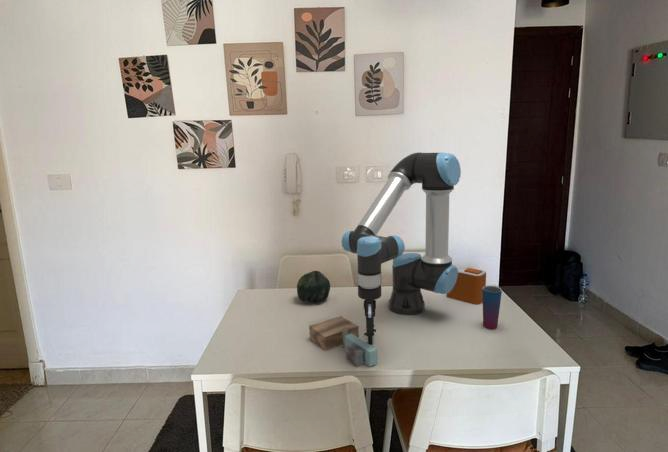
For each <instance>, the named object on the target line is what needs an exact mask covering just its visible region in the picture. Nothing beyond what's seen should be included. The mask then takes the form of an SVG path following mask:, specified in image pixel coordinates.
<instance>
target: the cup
mask: <svg viewBox="0 0 668 452" xmlns="http://www.w3.org/2000/svg"><path fill="white" fill-rule="evenodd" d="M502 292H503V288H501V287H500V286H496V285H486V286H484V287H483V288H482V294H483V302H482V324H483V328H485V329H487V330H496V329H498V325H499V315H500V307H501V301H502V294H503V293H502Z"/></svg>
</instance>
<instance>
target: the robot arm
mask: <svg viewBox="0 0 668 452" xmlns="http://www.w3.org/2000/svg"><path fill="white" fill-rule="evenodd" d="M461 174H462V170H461V164H460V162H459V159H458V158H457V156H456V155H455V154H452V153H449V152H448V153H447V152H422V151H421V152H413V153H411V154H408V155H407V156H405V157H404V158H402V159H401V160H400V161H398V162H397V163H396V164H395V165H394V166H393V168H392V169H391V170H390V171H389V173H388V175H387V181H386V182H385V184H384V185H383V187H382V188H381V190H380V191H379V193H378V194H377V196H376V198H375V199H374V200H373V202H372V203H371V205H370V206H369V208H368V210H367V211H366V212H365V214H364V215H363V217H362V219H361V220H360V221H359V223H358V225H357V226H356V228H355V229H354V230H348V231H345V233H344V234H343V235H342V237H341V247H342V249H343V250H344V251H346V252H349V253H351V254H355V255H356V257H357V259H356V260H357V274H356V275H355V278H357V284H358V286H357V294H358V297H359V299H362V300H363V310H364V317H365V328H366V329H365V330H366V331H365V332H364V333H363V335H364V336H365V342H366V343H368V344H370V345H371V346H373V347H374V348H376V346H375V333H376V332H377V329H376V328H375V323H374V322H375V319H374V317H376V309H377V300H378V299H380V298H381V297H382V264H385V263H387V262H389V261H392V265H391V268H392V290H391V294H390V298H389V300H388V309H389V310H390V312H391V311H392V312H393V313H396V314H398V315H406V316H407V315H417V314H421V313H422V312H424V311H425V307H426V303H425V300H424V296H423V292H422V290H424V291H428V292H431V293H434V294H440V295H441V294H442V295H447V293H449V292H450V291H451V290H452V289H453V287H454V285H455V283H456V281H457V277H458V271H459V269H458V267H457V266H456V265H453V259H452V257H451V256H450V255H449V233H450V232H449V230H450V229H449V227H450V225H449V224H450V220H449V219H450V194H451V193H452V192H453V190H455V189H454V188H455V186H456V185H458V184H459V182H460V178H461ZM415 184H421V190H422V191H423V192H424V193H425V246H424V247H425V252H424V253H425V254H423V256H422V255H421V254H420V253H419V252H406V253H404V252H405V246H406V245H405V242H404V240H403V239H402V238H401V237H400V236H398V235H396V234H395V235H388V236H380V235H377V234H378V233H379V232H380V230H381V228H382V227H383V225H384V224H385V222H386V221H387V219H388V217H389V216H390V214H391V213H392V211H393V210H394V209H395V207H396V205H397V204H398V202H399V200H400V198H401V197H402V196H403V194H404V193H405V191H408V190H409V189H410V188H411V187H412V185H415Z"/></svg>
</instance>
